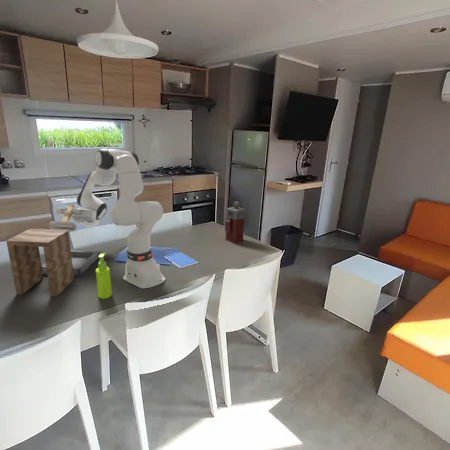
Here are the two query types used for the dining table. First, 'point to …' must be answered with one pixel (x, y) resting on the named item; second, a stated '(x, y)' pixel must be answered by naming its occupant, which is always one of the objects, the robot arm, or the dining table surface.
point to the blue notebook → (181, 260)
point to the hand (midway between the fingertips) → (68, 209)
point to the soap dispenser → (103, 278)
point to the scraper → (64, 221)
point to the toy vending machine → (235, 223)
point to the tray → (79, 261)
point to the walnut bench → (31, 263)
